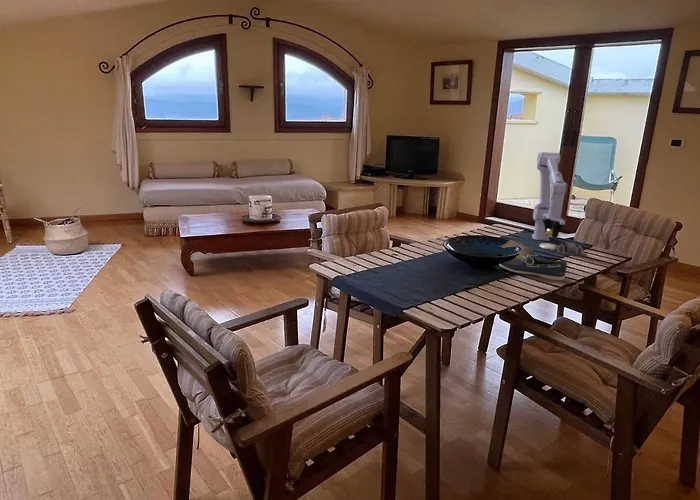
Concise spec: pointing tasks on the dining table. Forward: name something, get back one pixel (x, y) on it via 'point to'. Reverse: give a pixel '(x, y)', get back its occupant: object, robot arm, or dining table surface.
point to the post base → (570, 250)
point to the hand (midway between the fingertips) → (551, 235)
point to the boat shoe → (537, 267)
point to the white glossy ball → (548, 246)
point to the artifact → (523, 249)
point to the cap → (549, 232)
